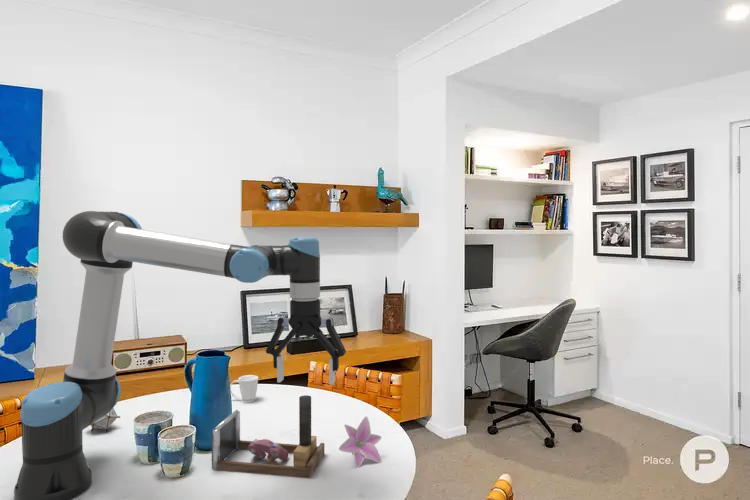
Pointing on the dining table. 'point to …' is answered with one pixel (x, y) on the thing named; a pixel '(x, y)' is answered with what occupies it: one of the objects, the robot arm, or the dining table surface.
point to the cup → (247, 388)
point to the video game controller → (268, 450)
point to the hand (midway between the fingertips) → (306, 382)
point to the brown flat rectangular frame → (274, 469)
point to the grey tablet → (225, 438)
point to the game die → (105, 421)
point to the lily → (361, 442)
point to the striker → (304, 434)
